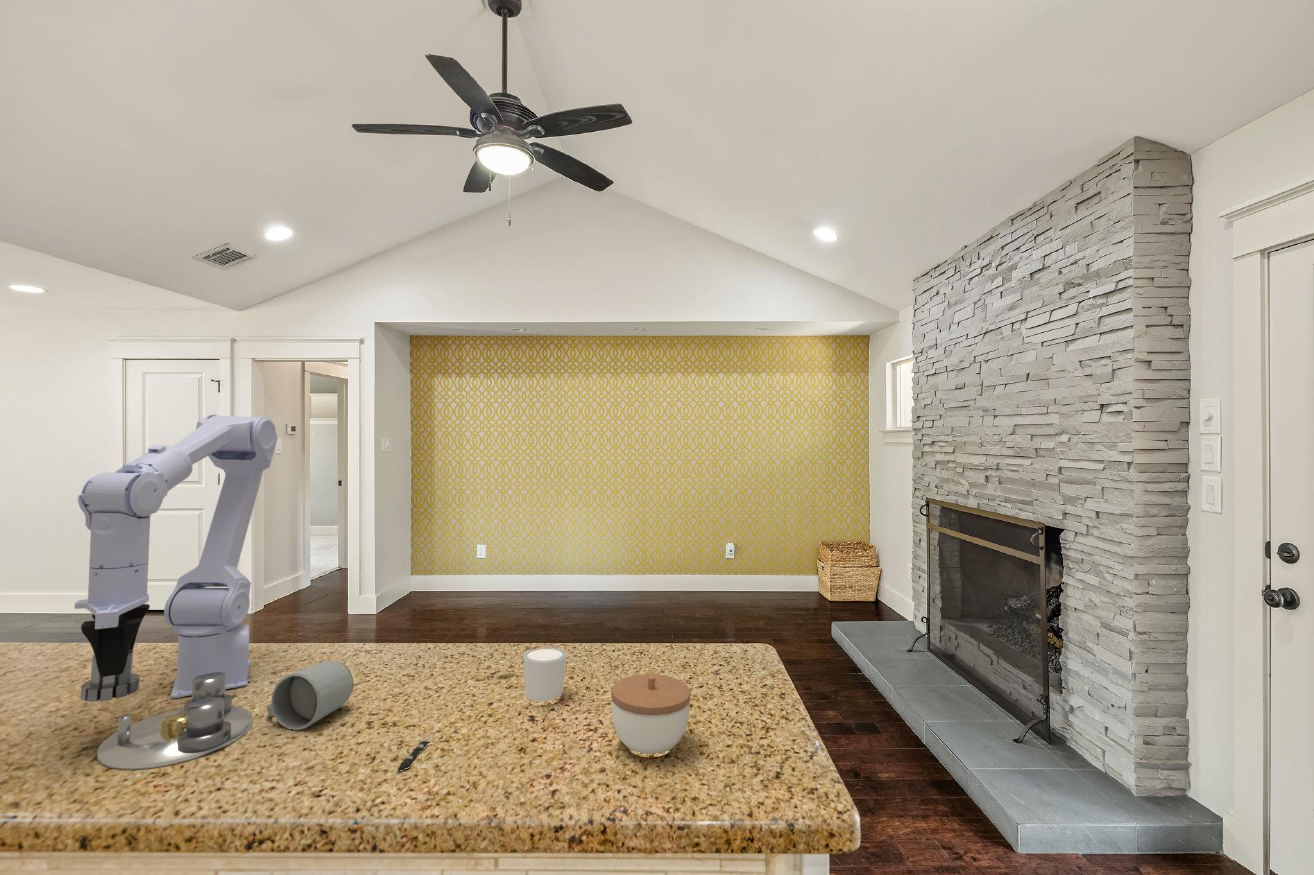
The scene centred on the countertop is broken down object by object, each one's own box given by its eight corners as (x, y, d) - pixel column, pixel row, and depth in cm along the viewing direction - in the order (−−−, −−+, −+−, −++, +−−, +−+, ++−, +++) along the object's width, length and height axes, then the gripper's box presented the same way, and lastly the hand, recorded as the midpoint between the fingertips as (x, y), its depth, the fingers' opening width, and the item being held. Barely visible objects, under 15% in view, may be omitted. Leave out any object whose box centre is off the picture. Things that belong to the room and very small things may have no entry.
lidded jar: (634, 777, 73) (637, 700, 73) (596, 738, 82) (598, 670, 82) (704, 754, 78) (707, 684, 78) (661, 721, 87) (663, 657, 87)
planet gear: (141, 681, 80) (144, 644, 80) (135, 696, 76) (137, 657, 76) (86, 688, 77) (89, 650, 77) (76, 704, 73) (79, 664, 73)
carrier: (251, 700, 90) (253, 663, 90) (253, 746, 77) (254, 703, 77) (109, 726, 81) (111, 685, 81) (84, 784, 68) (86, 735, 68)
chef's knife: (476, 708, 91) (457, 706, 91) (477, 701, 91) (458, 698, 91) (419, 778, 72) (395, 774, 72) (419, 768, 72) (396, 765, 72)
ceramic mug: (357, 707, 89) (358, 656, 89) (317, 733, 81) (318, 677, 81) (294, 701, 90) (295, 651, 90) (249, 726, 82) (250, 671, 82)
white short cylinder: (512, 702, 92) (514, 657, 92) (537, 686, 98) (538, 644, 98) (550, 711, 89) (551, 665, 89) (573, 694, 96) (574, 650, 96)
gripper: (90, 557, 81) (86, 656, 80) (61, 579, 69) (56, 696, 69) (157, 553, 85) (153, 648, 84) (141, 573, 73) (137, 684, 72)
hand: (115, 669), depth 77 cm, fingers closed on planet gear, 4 cm apart
